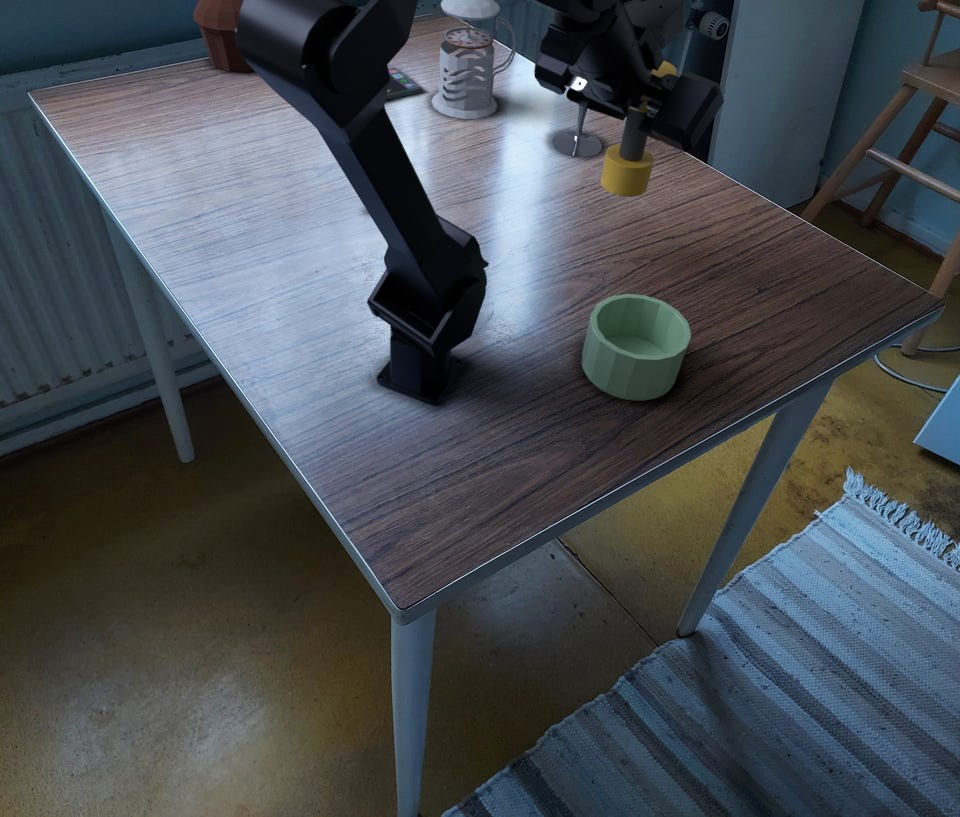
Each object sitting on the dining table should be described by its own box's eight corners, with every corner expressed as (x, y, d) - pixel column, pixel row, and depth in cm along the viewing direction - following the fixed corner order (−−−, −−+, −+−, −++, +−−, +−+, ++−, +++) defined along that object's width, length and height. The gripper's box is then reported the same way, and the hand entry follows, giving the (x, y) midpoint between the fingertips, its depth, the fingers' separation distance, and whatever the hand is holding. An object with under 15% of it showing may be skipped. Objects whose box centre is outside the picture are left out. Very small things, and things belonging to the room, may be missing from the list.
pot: (662, 413, 75) (676, 372, 71) (568, 380, 77) (577, 338, 73) (686, 354, 81) (700, 312, 77) (598, 324, 84) (608, 283, 80)
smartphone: (422, 92, 118) (422, 84, 117) (333, 113, 112) (332, 105, 111) (394, 71, 123) (394, 63, 122) (307, 90, 116) (306, 82, 115)
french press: (431, 86, 120) (437, -103, 102) (507, 91, 121) (525, -96, 103) (431, 117, 113) (437, -80, 95) (511, 121, 114) (532, -74, 96)
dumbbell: (624, 201, 85) (652, 82, 75) (590, 180, 87) (614, 62, 78) (656, 188, 87) (688, 72, 78) (623, 168, 90) (649, 52, 80)
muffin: (212, 80, 116) (199, 9, 109) (192, 51, 122) (179, -19, 115) (289, 69, 120) (282, -1, 113) (266, 41, 127) (258, -27, 120)
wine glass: (539, 147, 109) (554, 36, 98) (562, 125, 114) (579, 17, 103) (592, 164, 107) (613, 52, 96) (613, 140, 112) (635, 32, 101)
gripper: (748, -8, 64) (766, 88, 78) (570, -69, 72) (615, 28, 86) (671, 112, 66) (702, 185, 80) (505, 39, 74) (560, 118, 88)
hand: (644, 124), depth 83 cm, fingers closed on dumbbell, 5 cm apart
